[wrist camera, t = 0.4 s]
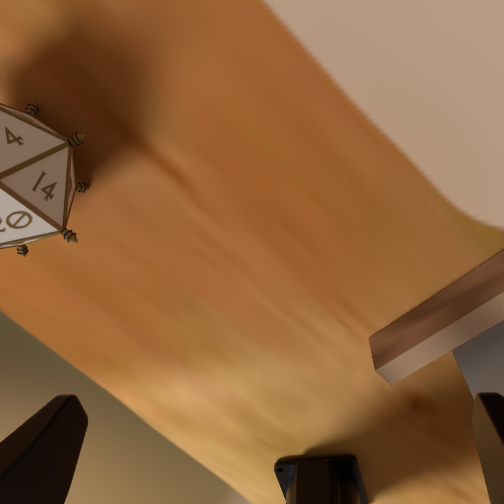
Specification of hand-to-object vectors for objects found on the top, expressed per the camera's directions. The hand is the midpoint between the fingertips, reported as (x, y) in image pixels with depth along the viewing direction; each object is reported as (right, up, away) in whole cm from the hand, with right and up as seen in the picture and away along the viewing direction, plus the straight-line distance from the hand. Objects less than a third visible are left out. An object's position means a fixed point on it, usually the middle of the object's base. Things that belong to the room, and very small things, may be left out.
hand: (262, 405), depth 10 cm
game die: (-12, +9, +15) cm, 22 cm away
